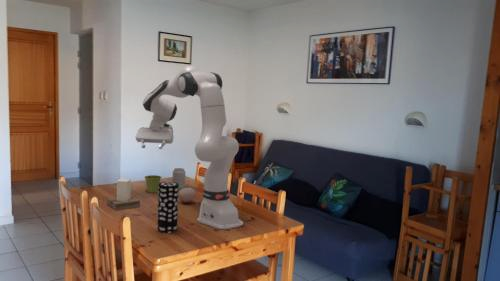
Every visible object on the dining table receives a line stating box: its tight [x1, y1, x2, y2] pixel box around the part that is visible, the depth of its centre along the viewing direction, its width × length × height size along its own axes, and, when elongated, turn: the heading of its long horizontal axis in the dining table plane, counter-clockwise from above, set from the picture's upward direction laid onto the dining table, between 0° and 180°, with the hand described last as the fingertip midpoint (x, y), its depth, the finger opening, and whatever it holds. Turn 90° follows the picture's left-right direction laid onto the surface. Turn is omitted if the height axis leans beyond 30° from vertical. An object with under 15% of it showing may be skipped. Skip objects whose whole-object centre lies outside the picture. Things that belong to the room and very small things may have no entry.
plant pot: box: [144, 174, 162, 194], centre depth 233 cm, size 9×9×9 cm
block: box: [116, 178, 132, 201], centre depth 203 cm, size 5×5×10 cm
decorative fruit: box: [178, 184, 197, 204], centre depth 213 cm, size 9×8×10 cm
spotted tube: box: [156, 181, 179, 234], centre depth 172 cm, size 8×8×20 cm
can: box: [171, 167, 186, 190], centre depth 243 cm, size 8×8×12 cm
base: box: [106, 195, 141, 211], centre depth 203 cm, size 12×12×3 cm
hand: (151, 147), depth 216 cm, fingers open, 8 cm apart
